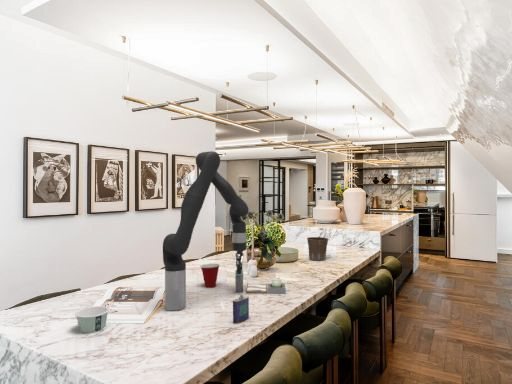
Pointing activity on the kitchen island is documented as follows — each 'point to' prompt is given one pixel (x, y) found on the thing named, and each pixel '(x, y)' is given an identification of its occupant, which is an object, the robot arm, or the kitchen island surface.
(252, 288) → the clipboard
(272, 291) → the button housing
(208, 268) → the plastic cup
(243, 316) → the flask
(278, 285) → the button
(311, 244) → the plant pot
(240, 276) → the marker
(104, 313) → the food container
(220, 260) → the kitchen island surface
